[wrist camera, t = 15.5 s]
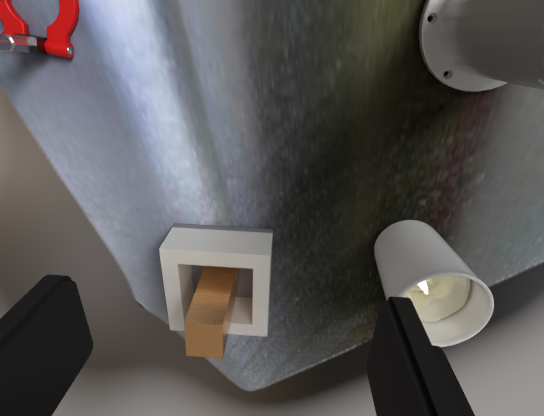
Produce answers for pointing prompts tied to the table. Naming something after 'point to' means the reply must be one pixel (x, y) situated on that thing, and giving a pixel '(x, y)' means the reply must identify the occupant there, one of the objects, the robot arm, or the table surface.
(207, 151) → the table surface
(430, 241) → the candle holder
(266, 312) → the well
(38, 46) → the tow hook
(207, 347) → the wooden square beam
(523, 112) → the table surface
